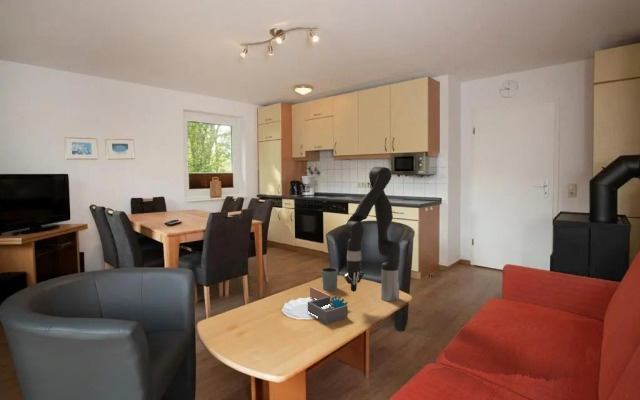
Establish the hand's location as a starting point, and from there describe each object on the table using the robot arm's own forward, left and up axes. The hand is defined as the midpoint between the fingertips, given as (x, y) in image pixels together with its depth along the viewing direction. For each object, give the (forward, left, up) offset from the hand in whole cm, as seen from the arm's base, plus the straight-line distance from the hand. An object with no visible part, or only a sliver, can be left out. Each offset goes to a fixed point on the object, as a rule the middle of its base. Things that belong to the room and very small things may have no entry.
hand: (353, 291), depth 184 cm
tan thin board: (+10, -17, -9) cm, 22 cm away
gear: (+9, -1, -9) cm, 13 cm away
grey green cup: (-8, -32, -9) cm, 35 cm away
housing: (+17, 0, -9) cm, 19 cm away
